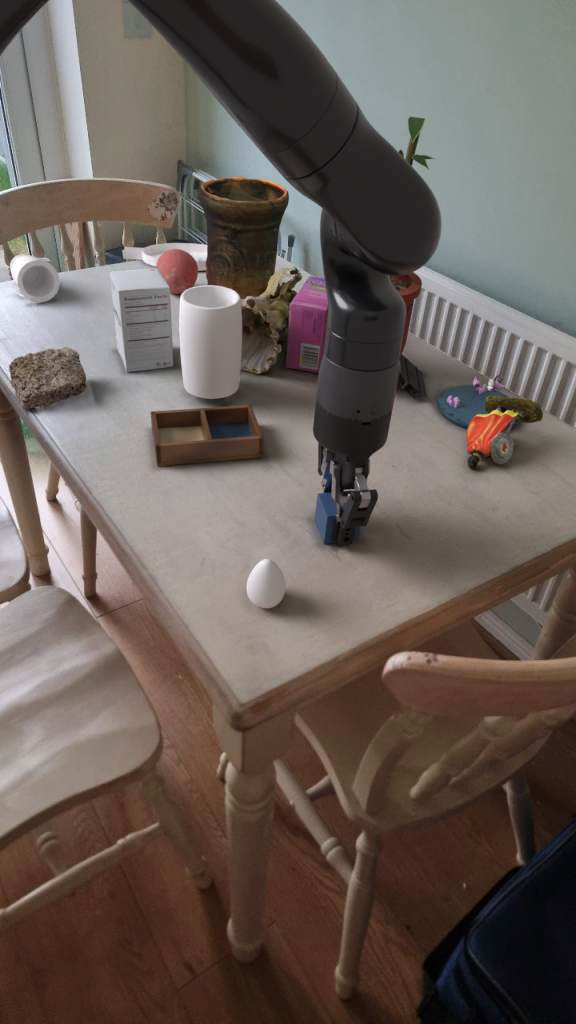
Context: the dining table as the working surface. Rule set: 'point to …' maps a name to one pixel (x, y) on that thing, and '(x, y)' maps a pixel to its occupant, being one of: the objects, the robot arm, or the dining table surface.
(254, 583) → the egg
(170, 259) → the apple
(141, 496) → the dining table surface
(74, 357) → the stone
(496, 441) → the figurine
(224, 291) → the cup
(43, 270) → the downlight
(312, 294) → the box
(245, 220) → the vessel
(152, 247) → the two-handled dish
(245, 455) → the sorter
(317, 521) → the block
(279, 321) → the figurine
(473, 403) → the blue flower bed
